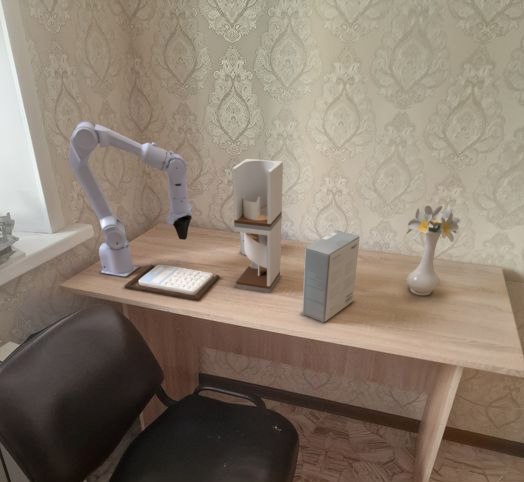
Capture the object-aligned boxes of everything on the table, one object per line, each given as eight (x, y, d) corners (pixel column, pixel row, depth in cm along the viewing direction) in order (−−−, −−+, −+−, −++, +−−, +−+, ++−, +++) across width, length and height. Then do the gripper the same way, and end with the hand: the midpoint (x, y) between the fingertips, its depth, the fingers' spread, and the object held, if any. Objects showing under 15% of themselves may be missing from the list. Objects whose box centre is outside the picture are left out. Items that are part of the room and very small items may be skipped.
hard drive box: (331, 293, 138) (337, 229, 127) (353, 301, 134) (361, 236, 123) (300, 314, 128) (304, 246, 117) (324, 323, 124) (330, 254, 113)
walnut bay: (124, 288, 141) (124, 285, 141) (151, 267, 154) (151, 264, 153) (197, 301, 135) (197, 298, 134) (219, 278, 147) (219, 275, 146)
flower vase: (447, 282, 144) (467, 202, 130) (435, 308, 131) (456, 222, 117) (405, 273, 149) (421, 195, 135) (390, 297, 136) (405, 214, 122)
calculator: (195, 296, 137) (194, 290, 136) (137, 285, 143) (136, 279, 142) (214, 277, 147) (214, 272, 146) (159, 268, 153) (158, 262, 152)
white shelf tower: (248, 272, 150) (246, 158, 130) (280, 276, 148) (282, 161, 128) (236, 287, 142) (232, 168, 122) (269, 292, 139) (270, 171, 119)
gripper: (179, 204, 136) (183, 248, 144) (200, 191, 147) (203, 232, 155) (158, 202, 138) (163, 245, 145) (180, 189, 149) (184, 229, 157)
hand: (182, 238), depth 150 cm, fingers closed
